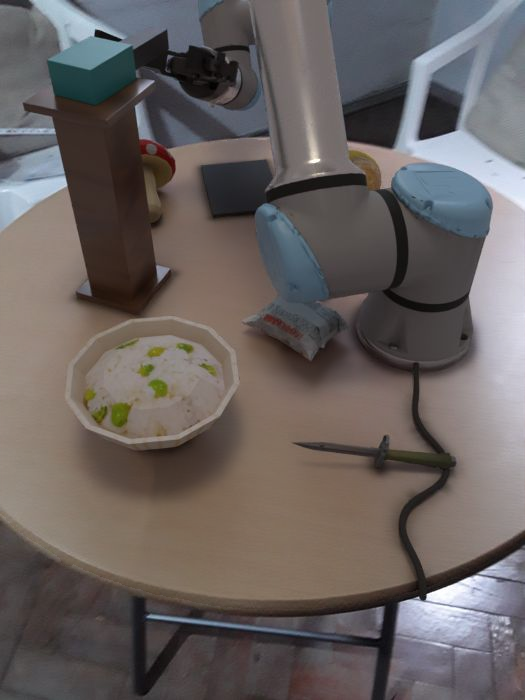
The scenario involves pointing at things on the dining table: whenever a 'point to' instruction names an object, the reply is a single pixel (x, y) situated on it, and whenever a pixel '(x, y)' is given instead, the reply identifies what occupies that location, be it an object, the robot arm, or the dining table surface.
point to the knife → (386, 453)
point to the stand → (107, 193)
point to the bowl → (152, 382)
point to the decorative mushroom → (156, 173)
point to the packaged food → (298, 324)
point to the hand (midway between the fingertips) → (141, 48)
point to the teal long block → (104, 64)
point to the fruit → (367, 168)
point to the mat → (236, 186)
